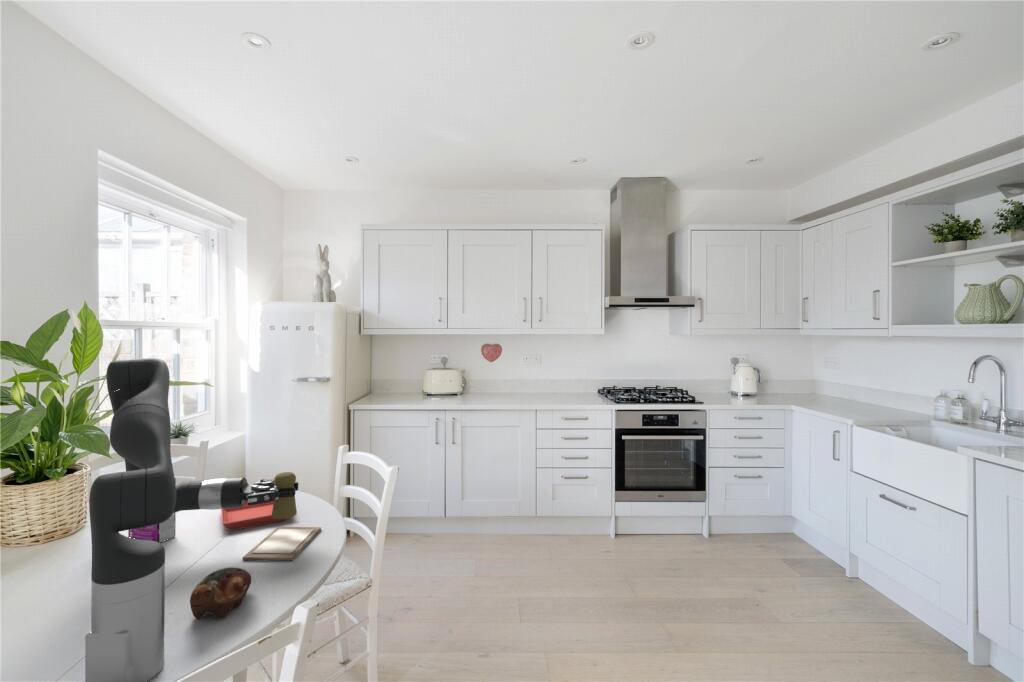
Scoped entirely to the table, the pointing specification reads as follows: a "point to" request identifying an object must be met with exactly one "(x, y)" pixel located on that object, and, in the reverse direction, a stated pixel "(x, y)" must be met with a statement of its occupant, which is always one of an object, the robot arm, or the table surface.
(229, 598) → the brown lumpy oval piece
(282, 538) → the brown picture frame
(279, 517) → the cork
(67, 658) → the table surface
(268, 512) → the plant saucer
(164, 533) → the candy bar box
